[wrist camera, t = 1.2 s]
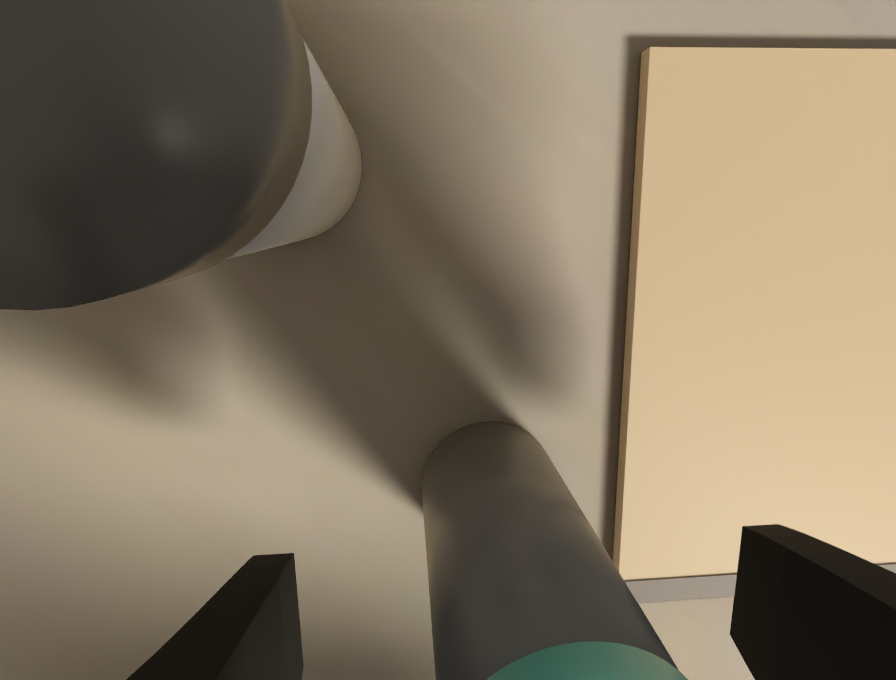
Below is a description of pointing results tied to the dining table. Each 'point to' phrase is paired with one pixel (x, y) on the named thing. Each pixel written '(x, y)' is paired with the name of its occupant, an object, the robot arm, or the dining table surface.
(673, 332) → the notepad
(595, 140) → the dining table surface
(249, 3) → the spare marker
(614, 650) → the cylinder
